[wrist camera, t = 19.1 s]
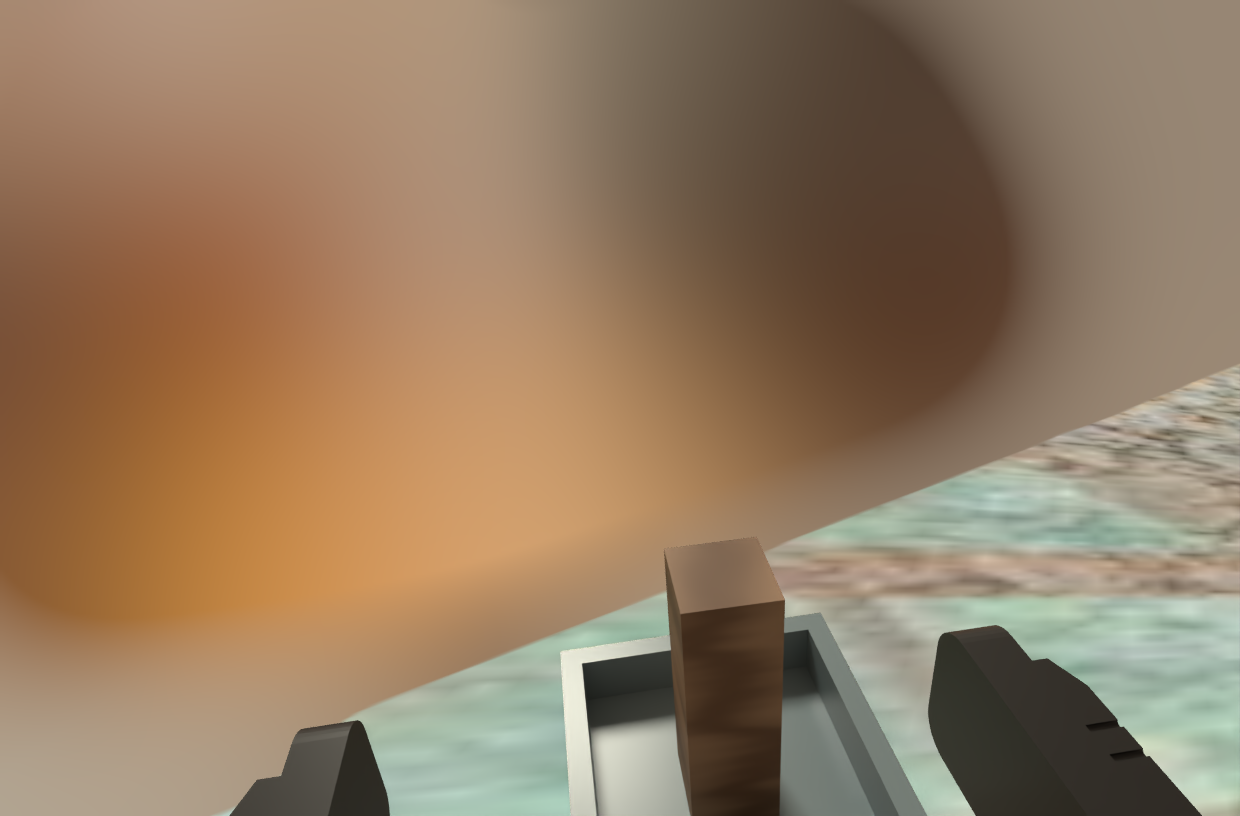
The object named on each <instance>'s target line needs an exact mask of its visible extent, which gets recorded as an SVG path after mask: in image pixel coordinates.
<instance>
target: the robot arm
mask: <svg viewBox="0 0 1240 816" xmlns="http://www.w3.org/2000/svg"><path fill="white" fill-rule="evenodd" d="M928 717H929V724H930V729H931V733H932V736H933V739H934V742H935V745H936V747H937V749H938V751H939V753H940V755H941V757H942V759H943V761H944V762H945V764H946V766H947V767H948V769H949V771H950V773H951V774H952V776H953V778H954V779H955V781H956V783H957V785H958V786H959V788H960V790H961V791H962V793H963V795H964V796H965V798H966V800H967V802H968V803H969V805H970V807H971V808H972V810H973V812H974V813H975V815H976V816H1202V815H1201V814H1200V813H1199V812H1198V811H1197V809H1196V808H1195V807H1194V806H1193V805H1192V804H1191V803H1190V801H1189V800H1188V799H1187V798H1186V797H1185V796H1184V795H1183V794H1182V792H1181V791H1180V790H1179V789H1178V788H1177V787H1176V786H1175V784H1174V783H1173V782H1172V781H1171V780H1170V779H1169V778H1168V776H1167V775H1166V774H1165V773H1164V772H1163V771H1162V770H1161V769H1160V767H1159V766H1158V765H1157V764H1156V763H1155V762H1154V761H1153V759H1152V758H1151V757H1150V756H1145V754H1144V753H1143V748H1142V747H1141V746H1140V745H1139V744H1138V742H1137V741H1136V740H1135V739H1134V738H1133V737H1132V736H1131V734H1130V733H1129V732H1128V731H1127V730H1126V729H1125V728H1124V727H1120V726H1119V724H1118V721H1117V719H1116V717H1115V716H1114V715H1113V714H1112V713H1111V712H1110V711H1109V709H1108V708H1107V707H1106V706H1105V705H1104V704H1103V703H1102V702H1101V700H1100V699H1099V698H1098V697H1097V696H1096V695H1095V694H1094V692H1093V691H1092V690H1091V689H1090V688H1089V687H1088V686H1087V685H1086V684H1084V683H1083V682H1082V681H1080V680H1079V679H1077V678H1076V677H1074V676H1073V675H1071V674H1070V673H1068V672H1067V671H1065V670H1064V669H1062V668H1061V667H1059V666H1058V665H1056V664H1055V663H1053V662H1052V661H1050V660H1049V659H1040V660H1034V661H1032V660H1031V659H1030V658H1029V656H1028V655H1027V654H1026V653H1025V652H1024V650H1023V649H1022V648H1021V647H1020V646H1019V644H1018V643H1017V642H1016V641H1015V640H1014V638H1013V637H1012V636H1011V635H1010V634H1009V633H1008V632H1007V631H1006V630H1005V629H1004V628H1002V627H1000V626H997V625H994V626H987V627H980V628H974V629H967V630H960V631H954V632H947V633H944V634H942V635H941V636H940V639H939V641H938V647H937V653H936V660H935V666H934V673H933V680H932V686H931V693H930V699H929V707H928ZM230 816H390V812H389V803H388V797H387V793H386V789H385V786H384V783H383V780H382V777H381V775H380V772H379V769H378V766H377V763H376V760H375V757H374V754H373V751H372V748H371V745H370V742H369V739H368V736H367V733H366V731H365V728H364V726H363V724H362V723H361V722H360V721H358V720H357V721H350V722H344V723H337V724H331V725H325V726H318V727H311V728H305V729H301V730H300V731H298V733H297V734H296V735H295V737H294V740H293V742H292V745H291V748H290V751H289V754H288V757H287V760H286V763H285V766H284V769H283V772H282V775H281V776H279V777H272V778H266V779H260V780H257V781H256V782H255V783H254V784H253V786H252V787H251V788H250V790H249V791H248V792H247V794H246V795H245V796H244V797H243V799H242V800H241V801H240V803H239V804H238V805H237V807H236V808H235V809H234V811H233V812H232V813H231V814H230Z"/></svg>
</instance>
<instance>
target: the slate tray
mask: <svg viewBox="0 0 1240 816" xmlns="http://www.w3.org/2000/svg"><path fill="white" fill-rule="evenodd" d="M560 653H561V668H562V684H563V700H564V716H565V732H566V747H567V763H568V779H569V795H570V811H571V816H690V812H689V807H688V802H687V797H686V792H685V787H684V782H683V777H682V772H681V767H680V762H679V757H678V749H677V734H676V719H675V705H674V690H673V675H672V660H671V645H670V635H667V636H661V637H654V638H647V639H641V640H634V641H627V642H620V643H614V644H607V645H600V646H594V647H587V648H580V649H573V650H567V651H560ZM779 816H927V815H926V813H925V811H924V809H923V807H922V805H921V803H920V802H919V800H918V798H917V796H916V794H915V792H914V790H913V788H912V786H911V784H910V782H909V781H908V779H907V777H906V775H905V773H904V771H903V769H902V767H901V765H900V763H899V761H898V760H897V758H896V756H895V754H894V752H893V750H892V748H891V746H890V744H889V742H888V741H887V739H886V737H885V735H884V733H883V731H882V729H881V727H880V725H879V723H878V721H877V720H876V718H875V716H874V714H873V712H872V710H871V708H870V706H869V704H868V702H867V700H866V699H865V697H864V695H863V693H862V691H861V689H860V687H859V685H858V683H857V681H856V679H855V678H854V676H853V674H852V672H851V670H850V668H849V666H848V664H847V662H846V660H845V658H844V657H843V655H842V653H841V651H840V649H839V647H838V645H837V643H836V641H835V639H834V638H833V636H832V634H831V632H830V630H829V628H828V626H827V624H826V622H825V620H824V618H823V617H822V615H821V613H815V614H808V615H802V616H795V617H788V618H784V654H783V693H782V733H781V773H780V812H779Z"/></svg>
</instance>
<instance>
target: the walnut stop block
mask: <svg viewBox="0 0 1240 816" xmlns="http://www.w3.org/2000/svg"><path fill="white" fill-rule="evenodd" d="M664 556H665V569H666V586H667V601H668V616H669V630H670V645H671V660H672V675H673V690H674V705H675V719H676V734H677V749H678V757H679V762H680V767H681V772H682V777H683V782H684V787H685V792H686V797H687V802H688V807H689V812H690V816H779V812H780V773H781V733H782V693H783V654H784V614H785V599H784V597H783V595H782V592H781V590H780V588H779V586H778V583H777V581H776V579H775V577H774V574H773V572H772V570H771V568H770V566H769V563H768V561H767V559H766V557H765V554H764V552H763V550H762V548H761V545H760V543H759V541H758V539H757V537H751V538H743V539H736V540H729V541H720V542H712V543H705V544H698V545H690V546H683V547H674V548H667V549H664Z"/></svg>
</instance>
